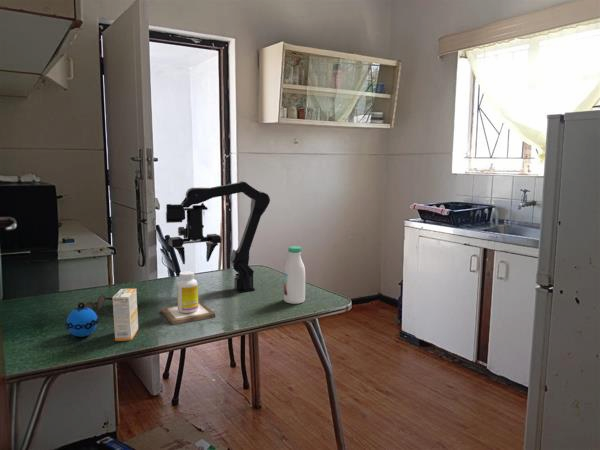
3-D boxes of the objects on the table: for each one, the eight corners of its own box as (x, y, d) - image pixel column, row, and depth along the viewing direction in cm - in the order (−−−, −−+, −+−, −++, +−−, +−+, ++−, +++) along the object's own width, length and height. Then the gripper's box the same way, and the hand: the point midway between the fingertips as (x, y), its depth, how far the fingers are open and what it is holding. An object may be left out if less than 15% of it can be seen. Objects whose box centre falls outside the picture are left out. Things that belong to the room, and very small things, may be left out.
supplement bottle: (202, 310, 155) (201, 272, 153) (186, 315, 150) (184, 276, 148) (190, 305, 159) (188, 269, 157) (173, 310, 154) (172, 273, 152)
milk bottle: (308, 299, 172) (309, 246, 169) (299, 305, 165) (300, 250, 162) (289, 296, 175) (289, 244, 172) (280, 302, 168) (280, 248, 165)
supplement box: (122, 330, 140) (120, 288, 139) (138, 330, 141) (136, 288, 139) (114, 341, 132) (111, 296, 130) (131, 340, 133) (129, 296, 131)
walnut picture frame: (201, 305, 164) (201, 301, 164) (215, 317, 152) (215, 313, 152) (161, 311, 157) (160, 307, 157) (172, 324, 145) (172, 320, 145)
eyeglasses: (105, 305, 164) (104, 291, 164) (144, 308, 162) (144, 294, 161) (79, 320, 150) (78, 305, 149) (122, 323, 148) (121, 308, 147)
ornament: (74, 344, 130) (71, 309, 129) (62, 335, 136) (59, 302, 134) (104, 335, 136) (102, 302, 135) (91, 328, 142) (89, 296, 141)
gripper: (211, 217, 185) (212, 256, 188) (163, 220, 176) (165, 261, 178) (221, 221, 176) (222, 261, 178) (172, 224, 166) (173, 267, 169)
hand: (195, 262), depth 176 cm, fingers open, 9 cm apart
